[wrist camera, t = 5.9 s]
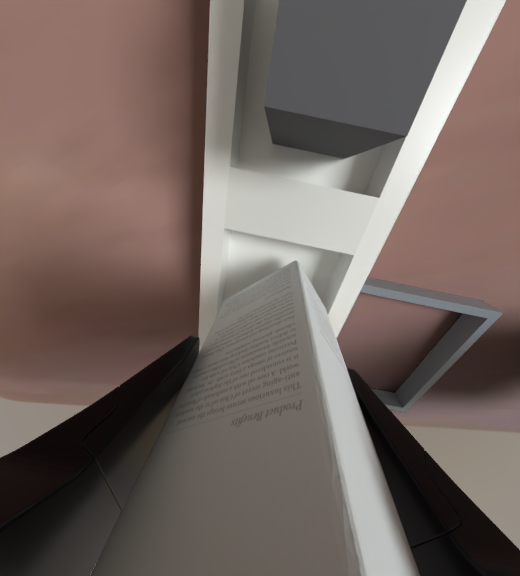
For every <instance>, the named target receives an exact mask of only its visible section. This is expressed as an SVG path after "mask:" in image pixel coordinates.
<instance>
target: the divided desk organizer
mask: <svg viewBox="0 0 520 576" xmlns="http://www.w3.org/2000/svg"><path fill="white" fill-rule="evenodd" d="M505 1H506V0H467V1H466V4H465V6H464V8H463V10H462V13H461V15H460V17H459V19H458V22H457V24H456V26H455V29H454V31H453V33H452V35H451V38H450V40H449V42H448V44H447V47H446V49H445V51H444V54H443V56H442V58H441V60H440V63H439V65H438V67H437V69H436V72H435V74H434V76H433V79H432V81H431V83H430V85H429V88H428V90H427V92H426V94H425V97H424V99H423V101H422V104H421V106H420V108H419V110H418V113H417V115H416V117H415V119H414V122H413V124H412V126H411V129H410V131H409V133H408V135H407V136H406V137H404V138H401V139H398V140H395V141H393V142H390V143H387V144H384V145H382V146H379V147H376V148H373V149H371V150H368V151H365V152H362V153H360V154H357V155H354V156H351V157H349V158H346V159H343V158H338V157H333V156H329V155H324V154H319V153H314V152H309V151H305V150H300V149H295V148H290V147H285V146H281V145H276V144H273V143H272V139H271V135H270V130H269V126H268V121H267V117H266V112H265V108H264V104H265V97H266V90H267V83H268V76H269V69H270V62H271V55H272V48H273V41H274V34H275V28H276V21H277V14H278V7H279V0H210V18H209V47H208V76H207V104H206V133H205V162H204V190H203V219H202V248H201V276H200V305H199V334H198V337H199V339H200V345H199V352H200V350H201V348H202V346H203V343H204V342H205V339H206V337H207V335H208V333H209V331H210V329H211V327H212V325H213V323H214V321H215V319H216V317H217V315H218V313H219V311H220V309H221V306H222V304H223V302H224V300H225V299H227V298H229V297H231V296H232V295H234V294H236V293H238V292H240V291H241V290H243V289H245V288H247V287H249V286H250V285H252V284H254V283H256V282H257V281H259V280H261V279H263V278H265V277H266V276H268V275H270V274H272V273H274V272H275V271H277V270H279V269H281V268H283V267H284V266H286V265H288V264H290V263H291V262H293V261H295V260H297V261H298V262H299V263H300V265H301V267H302V268H303V270H304V272H305V274H306V275H307V277H308V279H309V280H310V282H311V284H312V286H313V287H314V289H315V291H316V293H317V294H318V296H319V298H320V299H321V301H322V303H323V304H324V306H325V308H326V311H327V314H328V317H329V320H330V322H331V325H332V328H333V331H334V334H335V337H336V338H337V336H338V334H339V332H340V330H341V328H342V326H343V324H344V322H345V320H346V318H347V316H348V315H349V313H350V311H351V309H352V307H353V305H354V303H355V301H356V299H357V297H358V295H359V293H360V291H361V289H362V287H363V285H364V283H365V281H366V279H367V277H368V275H369V273H370V271H371V269H372V267H373V265H374V263H375V261H376V259H377V257H378V255H379V253H380V251H381V249H382V247H383V245H384V243H385V241H386V239H387V237H388V235H389V233H390V231H391V229H392V227H393V225H394V223H395V221H396V219H397V217H398V215H399V213H400V211H401V209H402V207H403V205H404V203H405V201H406V199H407V197H408V195H409V193H410V191H411V189H412V187H413V185H414V183H415V181H416V179H417V177H418V175H419V173H420V171H421V169H422V167H423V165H424V163H425V161H426V159H427V157H428V155H429V153H430V151H431V149H432V147H433V145H434V143H435V141H436V139H437V137H438V135H439V133H440V131H441V129H442V127H443V125H444V123H445V121H446V119H447V117H448V115H449V113H450V111H451V109H452V107H453V105H454V103H455V101H456V99H457V97H458V95H459V93H460V91H461V89H462V87H463V85H464V83H465V81H466V79H467V77H468V75H469V73H470V71H471V69H472V67H473V65H474V63H475V61H476V59H477V57H478V55H479V53H480V51H481V49H482V47H483V45H484V43H485V41H486V39H487V37H488V35H489V33H490V31H491V29H492V27H493V25H494V23H495V21H496V19H497V17H498V15H499V13H500V11H501V9H502V7H503V5H504V3H505ZM198 354H199V353H198Z"/></svg>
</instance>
